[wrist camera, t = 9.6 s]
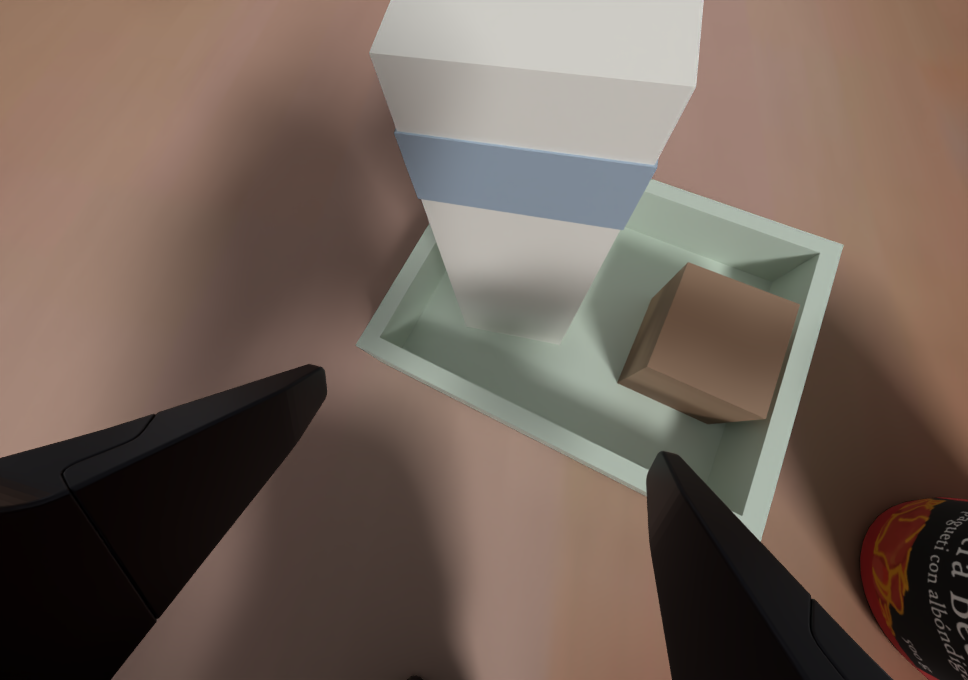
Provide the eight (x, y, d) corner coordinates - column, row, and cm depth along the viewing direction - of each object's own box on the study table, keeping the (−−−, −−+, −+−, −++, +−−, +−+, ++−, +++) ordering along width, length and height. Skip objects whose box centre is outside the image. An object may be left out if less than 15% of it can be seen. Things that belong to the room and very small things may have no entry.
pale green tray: (706, 527, 16) (758, 549, 13) (381, 362, 19) (355, 345, 16) (784, 279, 19) (843, 244, 16) (492, 171, 22) (489, 123, 19)
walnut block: (707, 424, 17) (765, 418, 13) (616, 383, 18) (647, 366, 14) (738, 333, 18) (800, 304, 14) (651, 298, 19) (688, 262, 15)
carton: (560, 345, 19) (699, 89, 5) (465, 327, 19) (365, 55, 6) (575, 259, 20) (718, -128, 6) (486, 244, 20) (444, -137, 7)
